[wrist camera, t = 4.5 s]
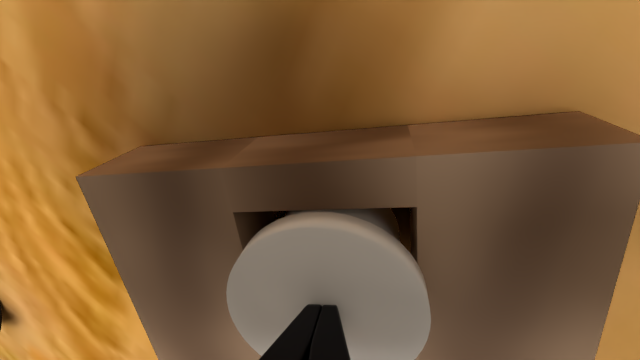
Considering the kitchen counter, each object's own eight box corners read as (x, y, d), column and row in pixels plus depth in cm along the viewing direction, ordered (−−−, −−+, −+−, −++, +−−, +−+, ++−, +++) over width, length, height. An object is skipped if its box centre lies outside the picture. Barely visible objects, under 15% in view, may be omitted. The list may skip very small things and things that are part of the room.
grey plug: (415, 161, 11) (431, 225, 7) (417, 293, 13) (430, 392, 9) (257, 170, 12) (203, 229, 8) (283, 289, 14) (249, 377, 11)
